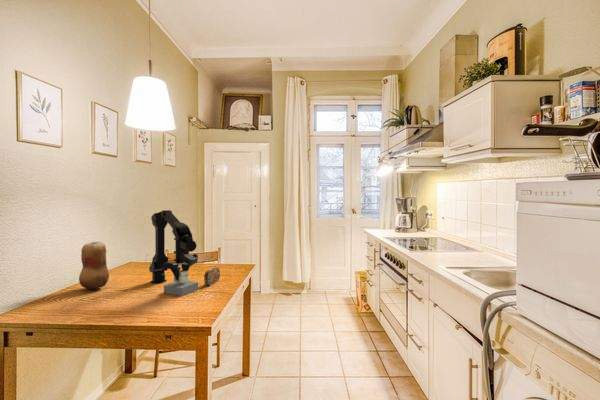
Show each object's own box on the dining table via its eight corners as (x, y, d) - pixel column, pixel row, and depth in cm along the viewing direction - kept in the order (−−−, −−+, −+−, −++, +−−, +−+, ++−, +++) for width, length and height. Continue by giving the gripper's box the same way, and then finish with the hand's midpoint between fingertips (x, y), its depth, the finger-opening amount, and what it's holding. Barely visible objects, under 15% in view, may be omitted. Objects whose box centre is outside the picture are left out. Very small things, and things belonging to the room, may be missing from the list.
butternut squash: (73, 293, 168) (73, 244, 168) (86, 286, 181) (86, 240, 181) (103, 292, 170) (102, 244, 170) (113, 285, 183) (113, 240, 183)
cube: (174, 281, 172) (174, 272, 172) (180, 279, 177) (180, 269, 177) (181, 282, 170) (181, 273, 170) (188, 280, 175) (188, 270, 175)
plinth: (163, 293, 170) (163, 285, 170) (180, 286, 181) (180, 279, 181) (182, 296, 166) (182, 288, 166) (198, 289, 177) (198, 282, 177)
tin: (208, 287, 181) (208, 272, 181) (203, 287, 182) (203, 271, 182) (220, 280, 196) (220, 266, 196) (215, 280, 197) (215, 265, 197)
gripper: (180, 253, 161) (180, 285, 162) (205, 247, 179) (205, 276, 179) (163, 251, 166) (163, 282, 166) (189, 246, 183) (188, 274, 183)
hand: (181, 278), depth 173 cm, fingers closed on cube, 5 cm apart
